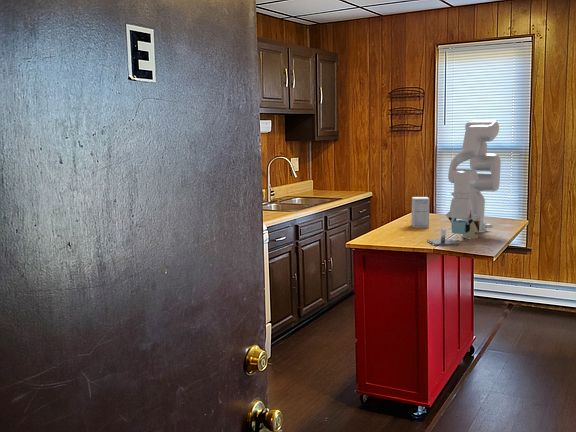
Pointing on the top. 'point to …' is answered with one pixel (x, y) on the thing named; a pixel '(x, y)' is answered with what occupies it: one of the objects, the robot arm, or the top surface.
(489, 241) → the top surface
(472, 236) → the coffee cup
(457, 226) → the collar
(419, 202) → the supplement box
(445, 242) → the shaft stand
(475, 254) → the top surface
